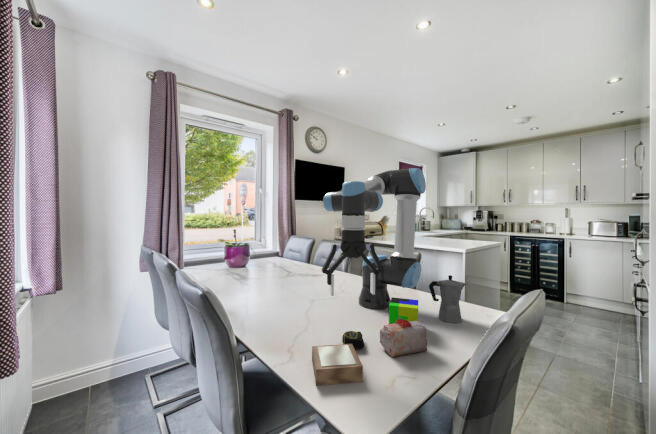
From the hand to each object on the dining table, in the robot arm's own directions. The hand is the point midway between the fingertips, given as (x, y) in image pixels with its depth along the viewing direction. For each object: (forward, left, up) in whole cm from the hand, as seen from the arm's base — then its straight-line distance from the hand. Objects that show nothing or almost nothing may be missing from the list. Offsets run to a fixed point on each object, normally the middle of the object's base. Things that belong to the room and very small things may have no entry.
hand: (352, 294), depth 88 cm
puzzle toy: (-22, -10, -17) cm, 30 cm away
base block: (+8, +13, -17) cm, 23 cm away
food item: (-15, +5, -17) cm, 24 cm away
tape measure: (-1, 0, -17) cm, 17 cm away
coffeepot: (-44, -17, -17) cm, 50 cm away
